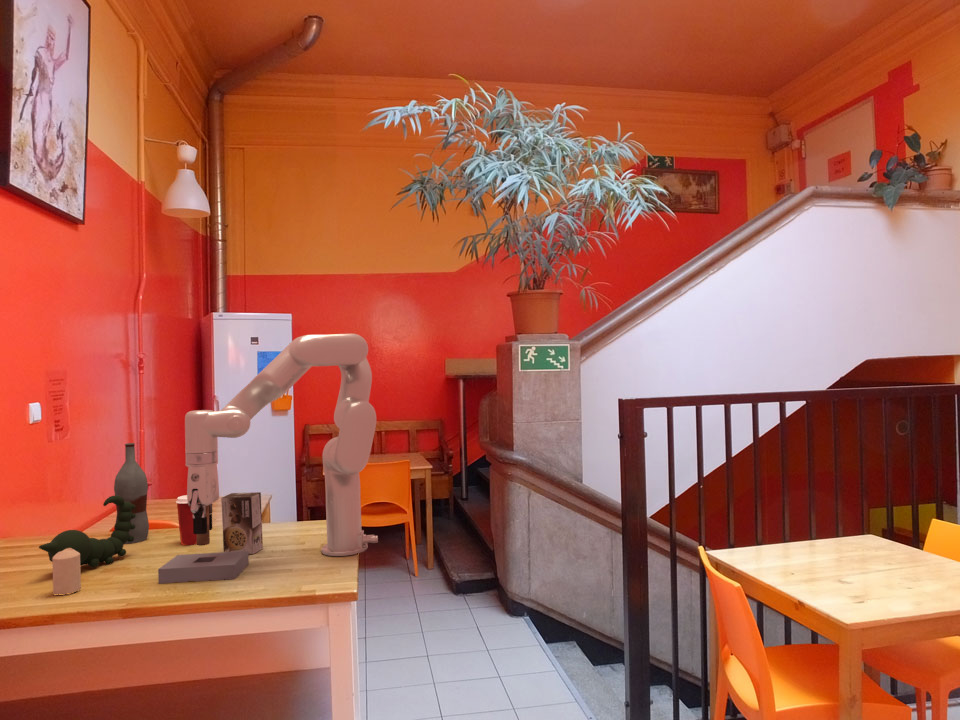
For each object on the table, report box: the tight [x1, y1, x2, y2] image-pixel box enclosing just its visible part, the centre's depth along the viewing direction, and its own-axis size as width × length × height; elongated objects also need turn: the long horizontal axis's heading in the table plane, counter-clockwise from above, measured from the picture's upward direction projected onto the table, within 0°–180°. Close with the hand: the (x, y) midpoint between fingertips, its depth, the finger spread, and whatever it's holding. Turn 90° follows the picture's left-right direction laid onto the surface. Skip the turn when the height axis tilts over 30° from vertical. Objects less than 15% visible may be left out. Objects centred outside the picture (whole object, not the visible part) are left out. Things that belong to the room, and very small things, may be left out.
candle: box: [51, 548, 82, 595], centre depth 151 cm, size 6×6×10 cm
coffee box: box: [220, 491, 264, 555], centre depth 180 cm, size 9×6×16 cm
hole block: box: [157, 551, 250, 584], centre depth 161 cm, size 18×12×4 cm, turn 95°
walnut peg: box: [196, 503, 211, 547], centre depth 161 cm, size 3×3×10 cm
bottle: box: [113, 442, 150, 545], centre depth 197 cm, size 9×9×30 cm
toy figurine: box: [38, 494, 136, 569], centre depth 170 cm, size 9×19×25 cm
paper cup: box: [175, 494, 199, 547], centre depth 192 cm, size 8×8×14 cm
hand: (202, 531), depth 161 cm, fingers closed on walnut peg, 3 cm apart
